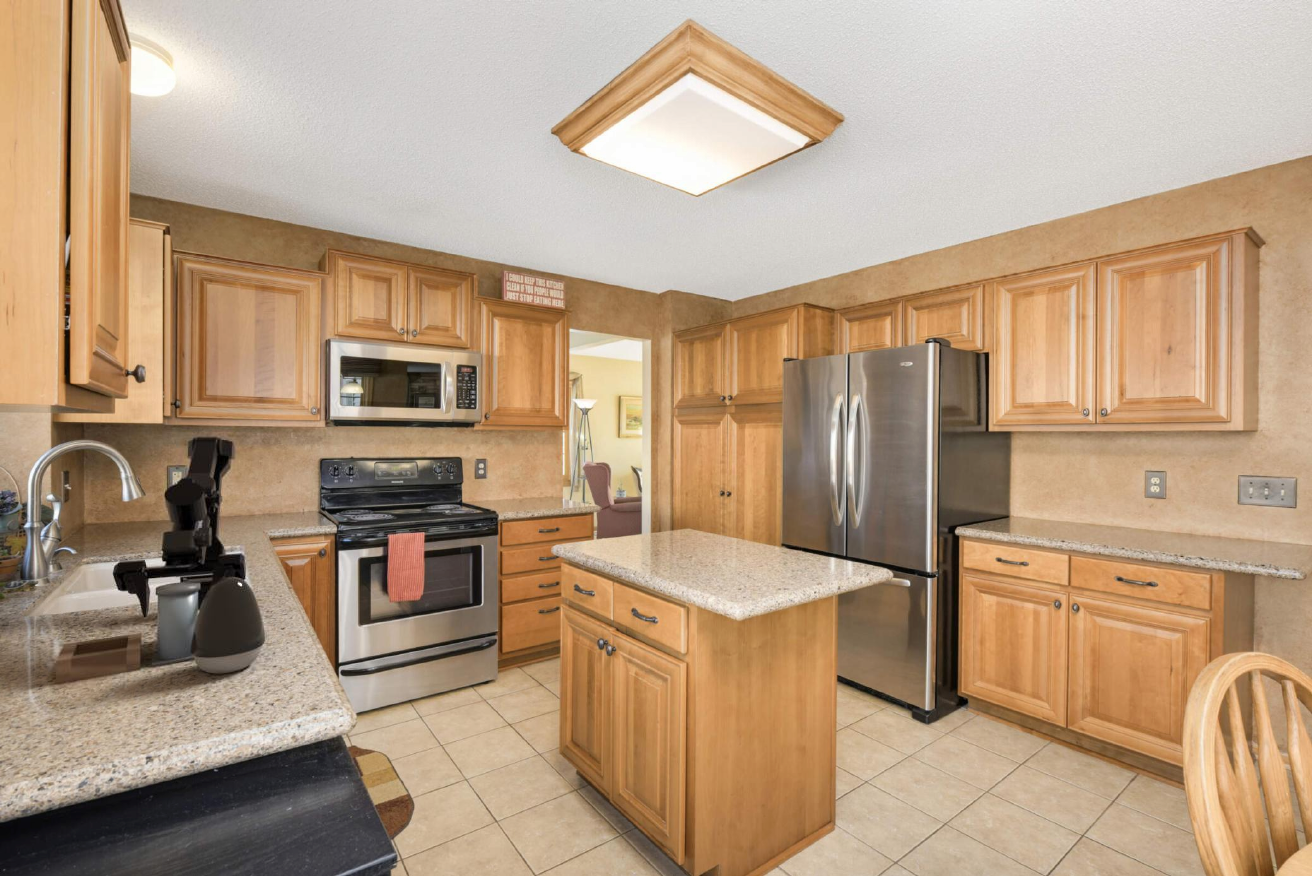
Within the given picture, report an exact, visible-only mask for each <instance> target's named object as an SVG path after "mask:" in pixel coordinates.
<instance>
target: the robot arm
mask: <svg viewBox="0 0 1312 876" xmlns="http://www.w3.org/2000/svg"><path fill="white" fill-rule="evenodd" d="M235 447H236V445H235V443H234V442H233V441H231V440H229V439H222V438H221V437H218V436H197V437H193V438H192V439H191V440H189V441H187V458H188V459H189V460H190V461H189V462H190V463H189V466H188V470H187V474H186V476H184V477H183V478H180V479H179V480H178V481H176V483H175V484H172V485H171V486H170V487H168V488H167V489H166V490H165V492H164V504H165V507H166V510H167V515H168V518H169V521H170V522H171V524H172V525H171V529H170V530H171V531H170V530H169V531H164V532H163V535H162V542H161V551H162V555H161V561H162V562H164V565H157V566H156V565H155V566H147V564H146V559H135V560H124V561H123V560H121V561H119V562H117V563H116V564H115V565H114V567H113V570H112V576H113V579H114V582H115V586H116V588H117V591H120V592H127V593H128V594H129V595H136V597H137V599H138V602H139V606H140V611H141V614H142V617H143V618H147V617H148V614H149V609H150V597H151V588H150V584H149V579H163V578H179V582H199V583H200V590H199V591H198V611H199V610H200V608H201V605H202V603H203V600H204V598H205V596H206V594H207V593H208V591H209V590H210V588H211V587H212V586H213V585H214V584H215V583H216V582H217V581H219V580H220V579H221V578H222V577H226V578H227V577H237V578H240V579H242V580H244V581H245V580H246V576H247V575H246V574H247V566H246V564H247V563H246V556H245V555H244V554H243V553H241V552H239V553H227V551H226V549H225V546H224V545H223V543H222V542H221V541H220V539H219V532H220V531H219V530H220V516H221V503H223V496H222V487H223V486H222V485H223V484H222V482H223V479H224V477H225V475H226V474H227V473H228V472H229V471H230V470H231V468H232V460H235V456H236V448H235ZM226 553H227V554H226Z"/></svg>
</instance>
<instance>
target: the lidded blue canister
mask: <svg viewBox="0 0 1312 876" xmlns="http://www.w3.org/2000/svg"><path fill="white" fill-rule="evenodd" d="M199 590H200V583H199V582H180V581H179V582H172V583H167V584H161V585H159V586H156V587H155V595H156V596H157V619H158V622H157V621H156V640H157V641H156V642H157V645H156V652H157V659H160V660H173V659H180V658H184V657H188V656H191V655H192V654H191V641H192V636H193V631H194V627H195V623H196V620H197V616H198V591H199Z"/></svg>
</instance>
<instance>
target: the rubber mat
mask: <svg viewBox="0 0 1312 876" xmlns="http://www.w3.org/2000/svg"><path fill="white" fill-rule="evenodd" d="M189 661H195V660H194V657H193V655H191V656H188V657H184V658H180V659H173V660H160V659H157V651H156V652H152V653H151V668H155V667H161V666H167V665H173V664H177V663H184V662H189Z"/></svg>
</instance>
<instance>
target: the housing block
mask: <svg viewBox="0 0 1312 876" xmlns="http://www.w3.org/2000/svg"><path fill="white" fill-rule="evenodd" d="M141 660H142V633H141V632H140V633H138V632H137V633H133V634H132V633H130V634H126V635H125V634H124V635H119V636H118V635H117V636H113V637H112V636H111V637H106V638H105V637H104V638H97V639H91V640H84V641H76V642H70V643H63V645H62V648H61V649H60V652H59V654H58V656H57V659H56V661H55V664H56V665H55V684H56V685H57V684H63V683H68V682H74V681H79V680H80V681H81V680H86V679H91V678H92V679H93V678H97V677H103V676H108V675H115V674H121V673H126V672H131V671H137V670H138V671H139V670H141Z"/></svg>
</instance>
